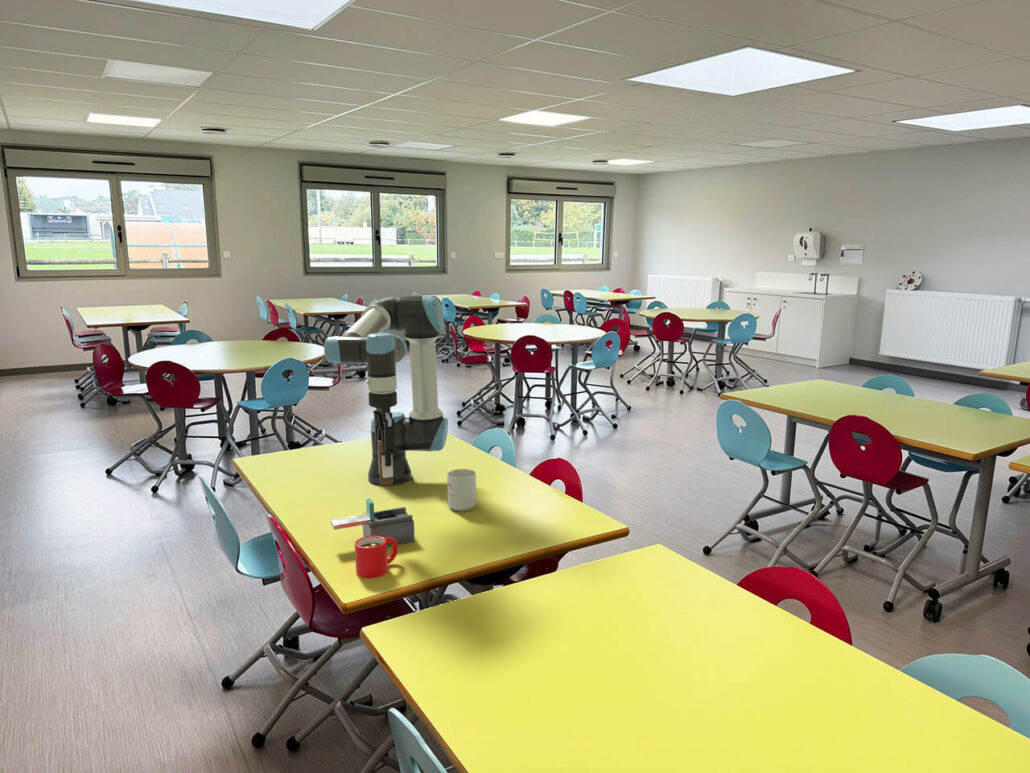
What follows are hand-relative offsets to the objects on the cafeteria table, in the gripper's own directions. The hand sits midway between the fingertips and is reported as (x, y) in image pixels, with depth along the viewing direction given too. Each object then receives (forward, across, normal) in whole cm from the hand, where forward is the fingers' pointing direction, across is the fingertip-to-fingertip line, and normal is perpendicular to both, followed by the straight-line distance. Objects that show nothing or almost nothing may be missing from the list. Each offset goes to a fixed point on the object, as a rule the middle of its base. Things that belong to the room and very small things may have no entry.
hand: (385, 474), depth 192 cm
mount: (+19, 0, 0) cm, 19 cm away
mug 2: (+19, -16, +27) cm, 37 cm away
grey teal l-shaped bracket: (+13, 0, -10) cm, 16 cm away
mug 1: (+19, +17, -7) cm, 26 cm away
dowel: (+2, 0, 0) cm, 2 cm away
